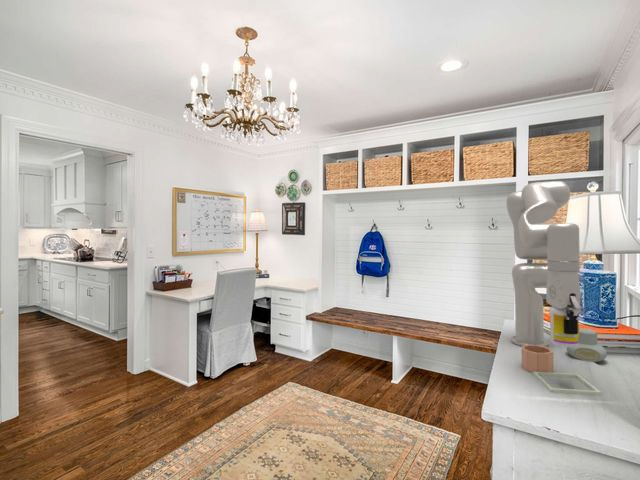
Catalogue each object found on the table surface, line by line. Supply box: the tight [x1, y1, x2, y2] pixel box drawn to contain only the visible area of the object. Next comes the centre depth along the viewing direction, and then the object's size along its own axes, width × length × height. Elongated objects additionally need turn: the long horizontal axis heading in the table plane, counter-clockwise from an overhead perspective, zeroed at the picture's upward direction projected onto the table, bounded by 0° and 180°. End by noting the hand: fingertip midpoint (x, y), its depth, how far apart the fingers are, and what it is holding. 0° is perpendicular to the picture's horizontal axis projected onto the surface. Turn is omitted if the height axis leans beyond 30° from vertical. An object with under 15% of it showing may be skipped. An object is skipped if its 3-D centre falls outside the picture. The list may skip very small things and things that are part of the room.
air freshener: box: [566, 327, 608, 363], centre depth 118 cm, size 11×8×10 cm
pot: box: [521, 345, 555, 373], centre depth 110 cm, size 8×9×7 cm
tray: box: [532, 372, 602, 396], centre depth 98 cm, size 12×12×2 cm
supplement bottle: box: [549, 306, 580, 348], centre depth 98 cm, size 7×7×13 cm
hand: (564, 329), depth 98 cm, fingers closed on supplement bottle, 6 cm apart
